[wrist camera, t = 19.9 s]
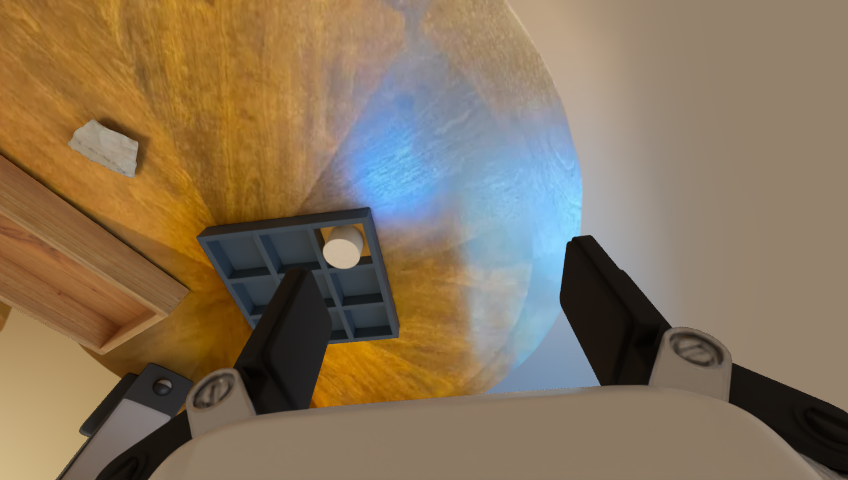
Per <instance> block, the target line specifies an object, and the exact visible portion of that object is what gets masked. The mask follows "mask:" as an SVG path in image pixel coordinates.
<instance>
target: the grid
mask: <svg viewBox="0 0 848 480" xmlns="http://www.w3.org/2000/svg"><path fill="white" fill-rule="evenodd" d="M344 225H351V226H354V227H356V228H357V229H358V230H360V232H361V233H362V235H363V237H364V245H363V248H362V252H361V256H360V259H359V262H358V263H357V264H356V265H355V266H353V267H351V268H347V269H341V268H336V267H334V266H332V265H330V264H329V263H328V262H327V261H326V259H325V258H324V255H323V248H324V246H325V244H326V241H327V239H328V237H329V235H330V233H331V231H332V230H333V229H334V228H335V227H336V226H344ZM196 238H197V240H198V242H199V243H200V245H201V247H202V248H203V250H204V251H205V253H206V255H207V256H208V258H209V260H210V261H211V263H212V264H213V266H214V268H215V269H216V271H217V273H218V274H219V276H220V277H221V279H222V281H223V282H224V284H225V286H226V287H227V289H228V290H229V292H230V294H231V295H232V297H233V299H234V300H235V302H236V303H237V305H238V307H239V308H240V310H241V312H242V313H243V315H244V316H245V318H246V320H247V321H248V323H249V325H250V326H251V328H252V329H253V331H254V329H255V327H256V325H257V323H258V322H259V320H260V318H261V316H262V314H263V313H264V311H265V309H266V307H267V306H268V304H269V302H270V300H271V298H272V297H273V295H274V293H275V291H276V289H277V288H278V286H279V284H280V282H281V281H282V279H283V277H284V275H285V273H286V272H287V270H288V269H290V268H297V267H306V268H307V270H311V271H312V273H313V275H314V277H315V280H316V282H317V285H318V287H319V289H320V292H321V294H322V297H323V299H324V302H325V304H326V307H327V309H328V311H329V314H330V316H331V319H332V323H333V327H332V331H331V335H330V338H329V342H328V344H337V343H348V342H359V341H370V340H380V339H391V338H398V337H399V322H398V318H397V314H396V310H395V306H394V302H393V298H392V294H391V290H390V286H389V282H388V278H387V274H386V270H385V266H384V262H383V258H382V254H381V250H380V246H379V242H378V238H377V234H376V230H375V226H374V222H373V218H372V214H371V210H370V208H362V209H354V210H346V211H337V212H329V213H321V214H313V215H305V216H296V217H288V218H280V219H272V220H263V221H255V222H247V223H239V224H231V225H222V226H214V227H207V228H206V229H205V230H203V231H202V232H201V233H200V234H199V235H198V236H197V237H196Z"/></svg>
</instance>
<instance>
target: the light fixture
mask: <svg viewBox="0 0 848 480" xmlns="http://www.w3.org/2000/svg"><path fill="white" fill-rule="evenodd" d="M193 384H194V383H193V382H191V381H189V380H188V379H186V378H184V377H182V376H180V375H178V374H176V373H174V372H171V371H169V370H167V369H165V368H162V367H160V366H157V365H154V364H151V363H149V364H148V365H147V367H146V368H145V369H144V370H143V372H142V373H141V374H140V375H139V376H136V375H134V374H127V375H125V376H124V377H123V378H122V379H121V380H120V381H119V383H118V384H117V385H116V386H115V387H114V388H113V390H112V391H111V392H110V393H109V394H108V395H107V397H106V398H105V399H104V400H103V401H102V402H101V404H100V405H99V406H98V407H97V408H96V410H95V411H94V412H93V413H92V414H91V415H90V417H89V418H88V419H87V420H86V421H85V422H84V423H83V425H82V426H81V427H80V430H79V432H80V433H81V434H82V435H84V436H87V437H89V438H88V439H87V441H86V442H85V443H84V444H83V446H82V447H81V448H80V449H79V450H78V452H77V453H76V454H75V455H74V457H73V458H72V459H71V461H70V462H69V463H68V465H67V466H66V467H65V468H64V470H63V471H62V472H61V474H60V475H59V476H58V478H57V479H56V480H95V479H96V477H97V476H98V475H99V473H100V472H101V471H102V470H103V469H104V468H105V467H106V466H107V465H108V464H109V463H110V462H111V461H112V460H113V459H115V458H116V457H117V456H119V455H120V454H121V453H123V452H124V451H126V450H127V449H129V448H130V447H132V446H133V445H134V444H136V443H137V442H139V441H140V440H142V439H143V438H145V437H146V436H148V435H149V434H151V433H152V432H154V431H155V430H156V429H158V428H159V427H161V426H162V425H164V424H165V423H167V422H168V421H170V420H171V419H173V418H174V417H175V416H176V415H177V413H178V411H179V410H180V408H181V407H182V405H183V403H184V402H185V397H186V396H187V394H188V392H189V391H190V389H191V387H192V386H193Z"/></svg>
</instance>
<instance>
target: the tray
mask: <svg viewBox="0 0 848 480" xmlns="http://www.w3.org/2000/svg"><path fill="white" fill-rule="evenodd" d="M188 292H189V290H188V289H187V288H186V287H184V286H183V285H181V284H180V283H178V282H177V281H176V280H174V279H173V278H171V277H170V276H169V275H167V274H166V273H164V272H163V271H162V270H160V269H159V268H157V267H156V266H155V265H153V264H152V263H150V262H149V261H148V260H146V259H145V258H143V257H142V256H141V255H139V254H138V253H136V252H135V251H134V250H132V249H131V248H129V247H128V246H127V245H125V244H124V243H122V242H121V241H119V240H118V239H117V238H115V237H114V236H113V235H111V234H110V233H109V232H107V231H106V230H104V229H103V228H102V227H100V226H99V225H98V224H96V223H95V222H93V221H92V220H90V219H89V218H88V217H86V216H85V215H83V214H82V213H81V212H79V211H78V210H76V209H75V208H74V207H72V206H71V205H70V204H68V203H67V202H65V201H64V200H63V199H61V198H60V197H58V196H57V195H56V194H54V193H53V192H51V191H50V190H49V189H47V188H46V187H44V186H43V185H42V184H40V183H39V182H37V181H36V180H35V179H33V178H32V177H30V176H29V175H28V174H26V173H25V172H23V171H22V170H21V169H19V168H18V167H17V166H15V165H14V164H12V163H11V162H10V161H8V160H7V159H5V158H4V157H3V156H1V155H0V301H2V302H4V303H6V304H7V305H9V306H11V307H13V308H15V309H17V310H19V311H20V312H22V313H24V314H26V315H28V316H30V317H32V318H34V319H35V320H37V321H39V322H41V323H43V324H45V325H47V326H48V327H50V328H52V329H54V330H56V331H58V332H60V333H61V334H63V335H65V336H67V337H69V338H71V339H73V340H74V341H76V342H78V343H80V344H82V345H84V346H86V347H87V348H89V349H91V350H93V351H95V352H97V353H99V354H101V355H103V354H105V353H107V352H108V351H110V350H112V349H113V348H115V347H117V346H118V345H120V344H122V343H124V342H125V341H127V340H129V339H130V338H132V337H134V336H135V335H137V334H139V333H140V332H142V331H144V330H145V329H147V328H149V327H150V326H152V325H154V324H155V323H157V322H159V321H160V320H162V319H164V318H165V317H167V316H168V315H169V314H170V313H171V312H172V311H173V310H174V308H175V307H176V306H177V305H178V304H179V303H180V301H181V300H182V299H183V298H184V297H185V295H186V294H187V293H188Z"/></svg>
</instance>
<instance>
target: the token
mask: <svg viewBox="0 0 848 480" xmlns="http://www.w3.org/2000/svg"><path fill="white" fill-rule="evenodd" d="M363 245H364V237H363V235H362V233H361V232H360V230H358V229H357V228H356V227H354V226H351V225H344V226H336V227H335V228H334V229H333V230H332V231H331V233H330V235H329V237H328V239H327V241H326V244H325V246H324V248H323V255H324V258H325V259H326V261H327V262H328V263H329V264H330V265H332V266H334V267H336V268H341V269H347V268H351V267H353V266H355V265H356V264H357V263H358V262H359V259H360V256H361V252H362V248H363Z"/></svg>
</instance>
